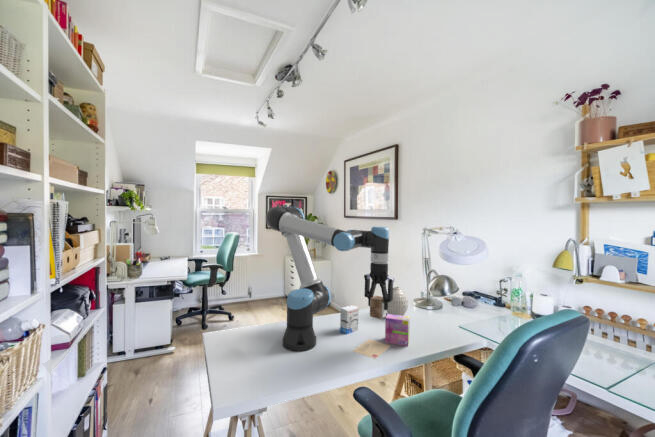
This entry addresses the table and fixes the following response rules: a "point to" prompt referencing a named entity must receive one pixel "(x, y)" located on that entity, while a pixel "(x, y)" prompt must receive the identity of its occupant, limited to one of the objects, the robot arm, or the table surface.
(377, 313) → the block
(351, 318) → the ink box
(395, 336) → the box
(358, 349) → the letter
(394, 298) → the vase
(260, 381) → the table surface
